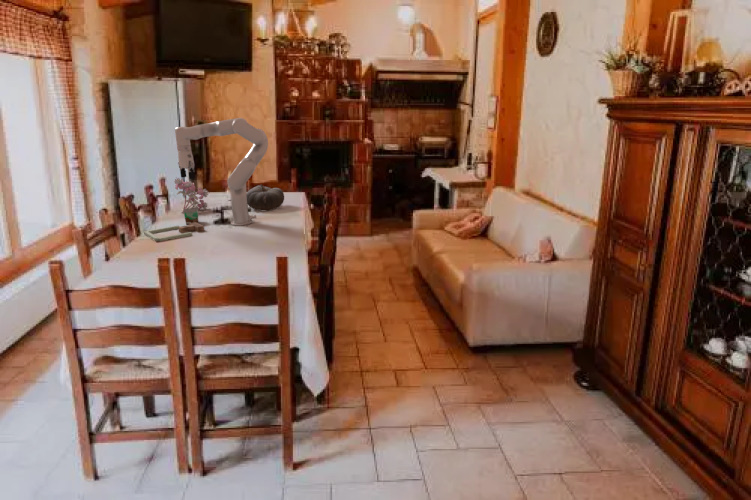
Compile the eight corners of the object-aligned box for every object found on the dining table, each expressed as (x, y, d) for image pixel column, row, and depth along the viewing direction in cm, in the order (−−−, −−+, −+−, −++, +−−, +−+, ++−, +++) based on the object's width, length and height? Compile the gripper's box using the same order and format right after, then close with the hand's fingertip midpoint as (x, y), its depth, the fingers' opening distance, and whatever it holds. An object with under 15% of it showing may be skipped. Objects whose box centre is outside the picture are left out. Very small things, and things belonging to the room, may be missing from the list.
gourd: (254, 200, 388) (254, 177, 381) (288, 206, 386) (289, 183, 379) (240, 212, 365) (241, 187, 358) (276, 218, 363) (278, 193, 356)
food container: (194, 225, 334) (192, 209, 331) (184, 225, 335) (182, 209, 332) (204, 220, 345) (202, 205, 342) (195, 220, 346) (193, 204, 343)
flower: (202, 213, 359) (207, 177, 363) (168, 210, 359) (173, 174, 362) (210, 219, 378) (215, 185, 382) (178, 216, 378) (183, 182, 382)
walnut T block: (196, 226, 330) (195, 222, 329) (204, 231, 320) (203, 226, 320) (176, 230, 323) (175, 225, 322) (184, 234, 313) (183, 229, 313)
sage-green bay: (178, 227, 329) (178, 225, 328) (192, 235, 311) (192, 232, 311) (143, 234, 317) (143, 231, 317) (156, 242, 300) (156, 239, 299)
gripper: (197, 148, 315) (201, 178, 320) (182, 147, 327) (186, 175, 332) (185, 150, 310) (189, 180, 315) (171, 148, 321) (174, 177, 326)
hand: (187, 177), depth 323 cm, fingers open, 9 cm apart
